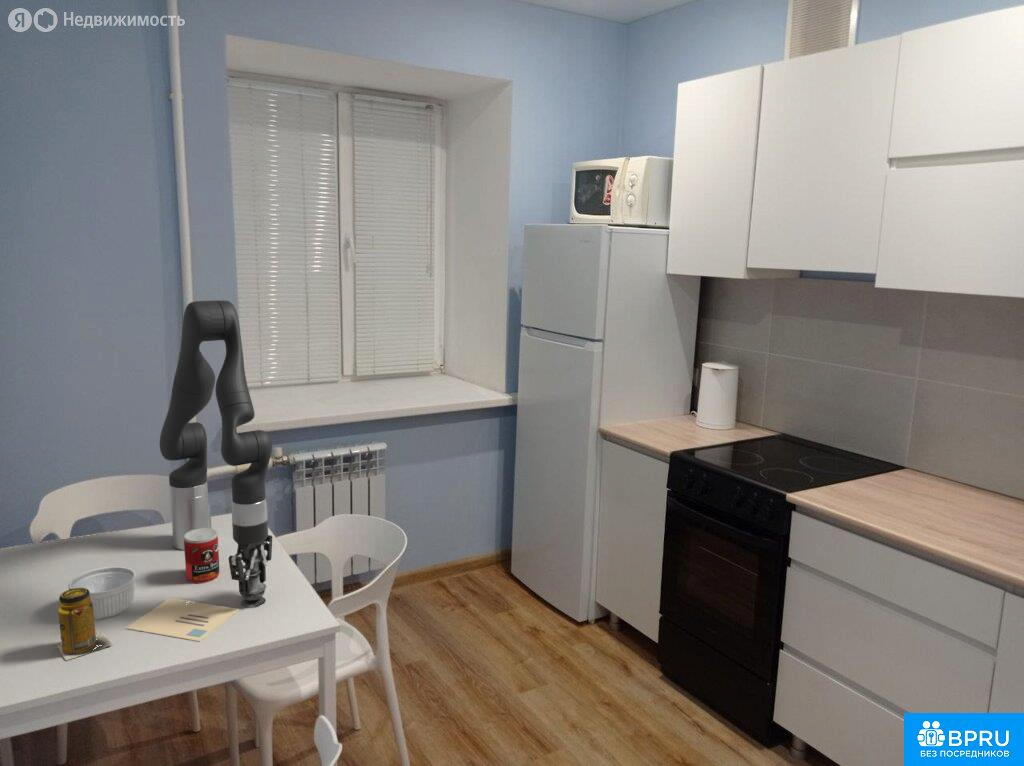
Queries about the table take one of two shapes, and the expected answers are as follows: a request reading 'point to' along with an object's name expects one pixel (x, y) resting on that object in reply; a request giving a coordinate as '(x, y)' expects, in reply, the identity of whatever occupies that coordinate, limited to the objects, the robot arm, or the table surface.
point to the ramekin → (108, 589)
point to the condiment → (78, 625)
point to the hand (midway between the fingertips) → (253, 587)
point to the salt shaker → (254, 588)
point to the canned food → (201, 555)
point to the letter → (183, 619)
